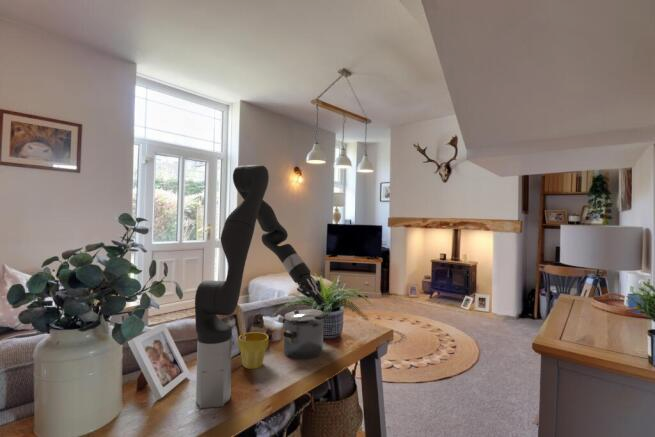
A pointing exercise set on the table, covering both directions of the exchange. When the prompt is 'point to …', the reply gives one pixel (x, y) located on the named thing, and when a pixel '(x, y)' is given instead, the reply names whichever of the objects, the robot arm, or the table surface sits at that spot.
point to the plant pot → (253, 349)
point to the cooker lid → (305, 315)
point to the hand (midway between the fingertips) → (321, 304)
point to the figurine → (258, 324)
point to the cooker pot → (303, 338)
